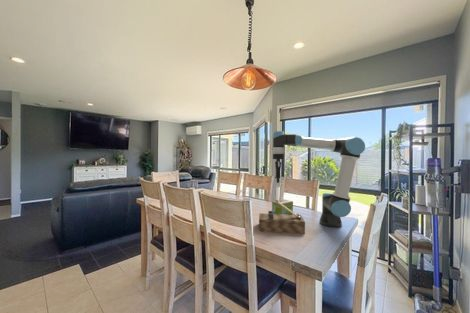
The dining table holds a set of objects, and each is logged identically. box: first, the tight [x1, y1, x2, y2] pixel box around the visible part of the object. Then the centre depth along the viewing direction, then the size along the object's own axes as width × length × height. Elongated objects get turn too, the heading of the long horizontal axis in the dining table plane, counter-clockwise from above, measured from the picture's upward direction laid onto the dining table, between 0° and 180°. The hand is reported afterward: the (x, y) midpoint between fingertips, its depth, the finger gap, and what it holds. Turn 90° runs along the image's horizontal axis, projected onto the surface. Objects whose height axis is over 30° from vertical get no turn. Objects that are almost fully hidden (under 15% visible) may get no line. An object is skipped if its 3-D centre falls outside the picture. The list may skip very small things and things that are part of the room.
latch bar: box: [274, 198, 300, 218], centre depth 145 cm, size 21×4×2 cm
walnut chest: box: [258, 210, 306, 234], centre depth 146 cm, size 30×14×11 cm, turn 83°
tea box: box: [271, 198, 294, 215], centre depth 165 cm, size 15×10×15 cm
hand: (277, 187), depth 145 cm, fingers closed
